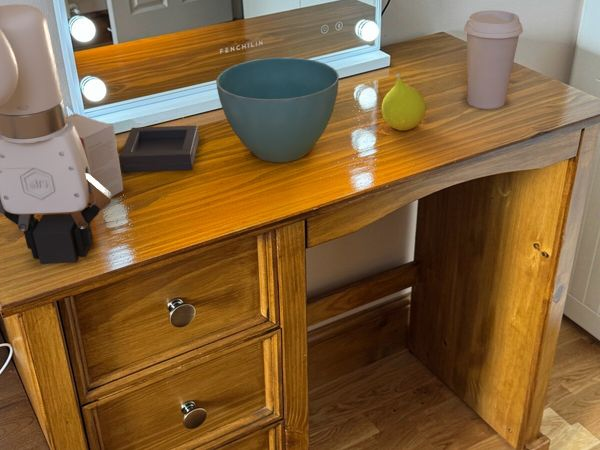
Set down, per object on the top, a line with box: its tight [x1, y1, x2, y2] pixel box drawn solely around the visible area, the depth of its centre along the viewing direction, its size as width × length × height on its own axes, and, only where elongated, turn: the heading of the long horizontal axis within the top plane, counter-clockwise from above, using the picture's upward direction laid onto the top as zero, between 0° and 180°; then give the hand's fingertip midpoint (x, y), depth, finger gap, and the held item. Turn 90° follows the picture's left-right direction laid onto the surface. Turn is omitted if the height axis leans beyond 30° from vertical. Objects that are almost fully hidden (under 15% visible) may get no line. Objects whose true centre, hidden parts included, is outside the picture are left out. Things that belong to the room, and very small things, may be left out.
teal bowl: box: [215, 57, 340, 163], centre depth 117 cm, size 18×18×12 cm
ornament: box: [380, 66, 427, 131], centre depth 124 cm, size 7×7×10 cm
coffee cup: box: [463, 10, 524, 110], centre depth 131 cm, size 10×10×15 cm
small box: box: [66, 112, 124, 205], centre depth 108 cm, size 8×6×10 cm
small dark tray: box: [119, 124, 200, 173], centre depth 119 cm, size 11×11×3 cm
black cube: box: [33, 213, 80, 265], centre depth 96 cm, size 4×4×4 cm
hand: (62, 250), depth 96 cm, fingers open, 5 cm apart
